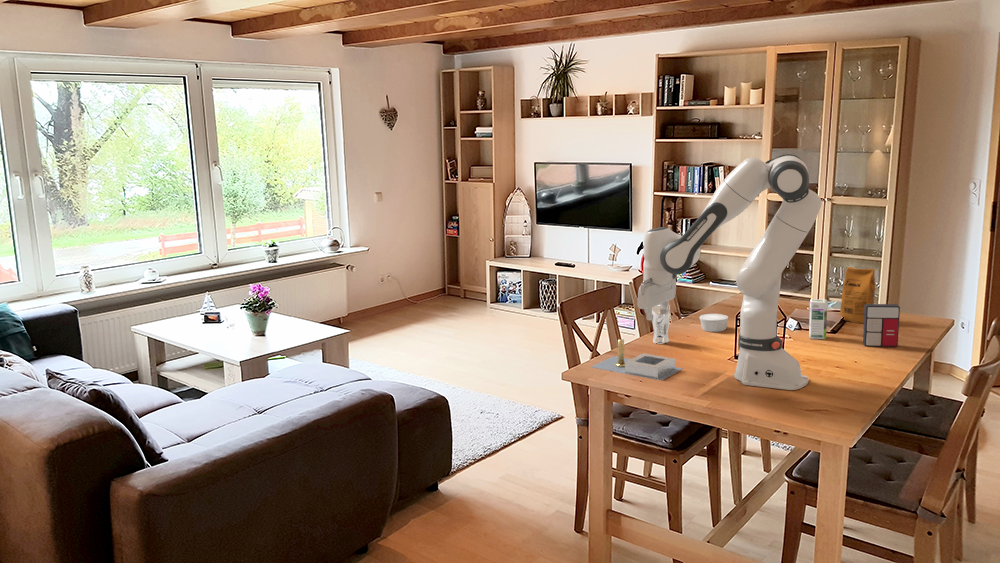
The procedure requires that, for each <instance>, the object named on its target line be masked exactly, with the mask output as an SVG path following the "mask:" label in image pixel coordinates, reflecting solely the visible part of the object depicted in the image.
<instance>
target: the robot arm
mask: <svg viewBox="0 0 1000 563" xmlns="http://www.w3.org/2000/svg"><path fill="white" fill-rule="evenodd" d="M767 189H772V190H773V191H774V192H775V193H776V194H777V195H778V196H779V197H781V198H782V202H781V205H780V206H779V208H778V210H777V211H776V213H775V214H774V216H773V217H772V219H771V221H770V222H769V225H768V226H767V228H766V229H765V231H764V233H763V234H762V236H761V237H760V239H759V240H758V241H757V243H756V245H755V246H754V248H753V249H752V250H751V252H750V253H749V255H748V256H747V257H746V259H745V260H744V262H743V264H742V265H741V267H740V268H739V270H738V273H737V275H736V279H735V280H736V284H735V285H736V287H737V289H738V291H739V292H740V293H741V294H742V295H743V298H742V303H741V307H740V319H739V320H740V321H739V325H740V326H739V333H738V340H737V346H738V347H737V348H738V358H737V363H736V367H735V370H734V371H735V372H734V374H733V377H734V379H736V380H737V381H740V382H741V384H743V385H745V386H753V387H759V388H761V387H762V388H767V389H768V388H770V389H779V390H786V391H787V390H788V391H795V390H799V389H802V388H804V387H806V386H807V385H808V383H809V377H808V376H807V375H805V374H802V368H801V365H800V362H799V360H797V359H796V358H795V357H794V356H793V355H791V354H790V353H789V352H788V351H786V350H785V348H783V343H784V340H785V339H784V337H783V338H780V337H779V336H778V334H777V330H778V329H777V325H778V309H779V307H778V306H779V302H780V301H779V300H780V293H781V292H780V291H781V285H782V284H781V283H782V273H783V272H784V270H785V269H786V268H787V266H788V264H789V263H790V261H791V260H792V259H793V257H794V256H795V254H796V253H797V251H798V249H799V248H800V246H801V245H802V243H803V242H804V240H805V239H806V237H807V235H808V234H809V232H810V230H811V229H812V228H813V226H814V223H815V222H816V219H817V218H818V215H819V213H820V210H821V207H822V199H821V197H820V195H818V194H817V193H816V192H815V191H814V190H812V189H810V176H809V170H808V167H807V165H806V163H805V162H804V161H803V159H801V158H800V157H799V156H798V155H795V154H789V153H788V154H782V155H780V156H777V157H775V158H771V159H769V160H767V161H766V162H765V161H762V160H761V159H759V158H756V157H747V158H745V159H744V160H743V161H741V162H740V163H739V164H738V165H737V166H736V167H734V169H732V170H731V172H729V174H727V175H726V177H725V178H724V179H723V180H722V181H721V183H720V184H719V185H718V186H717V188H716V189H715V191H714V193H713V194H712V196H711V198H710V199H709V200H708V203H707V204H706V206H705V207H704V209H703V211H702V212H701V214H700V215H699V216H698V217H697V219H696V220H695V221H694V222H693V224H692V225H691V226H689V228H688V229H687V230H686V232H684V233H683V235H681V234H678V233H676V232H674V231H673V230H672V229H671V228H669V227H666V226H660V227H655V228H651V229H649V230H647V232H645V234H644V238H643V253H642V254H643V258H644V263H643V269H642V270H643V275H642V276H643V277H642V278H643V280H642V283H641V284H640V286H639V288H638V292H637V308H638V309H641V310H644V313H645V315H646V316H645V317H646V320H647V321H651V322H652V320H653V315H652V307H654V306H657V305H659V304H662V307H661V309H660V314H663V315H664V314H667V307H668V304H670V301H671V300H674V299H675V297H676V292H677V280H676V279H678V278H677V277H678V275H683V274H685V273H686V272H687V271H689V269H690V268H691V267H693V266H694V265H695V264H696V263H697V262H698V261H699V260H700V258H701V255H702V249H701V247H702V245H704V243H706V241H707V240H708V239H709V238H710V236H711V235H712V234H713V233H715V231H717V230H718V229H719V228H720V227H722V226H724V225H725V224H726V223H729V222H730V221H732V220H734V219H735V218H737V217H738V216H739V215H741V214H742V213H743V212H744V211H745V210H746V209H748V208H749V206H750V205H751V204H752V203H754V201H755V200H756V198H757V197H758V196H759V195H760V194H761V193H762V192H764V191H765V190H766V191H767Z"/></svg>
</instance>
